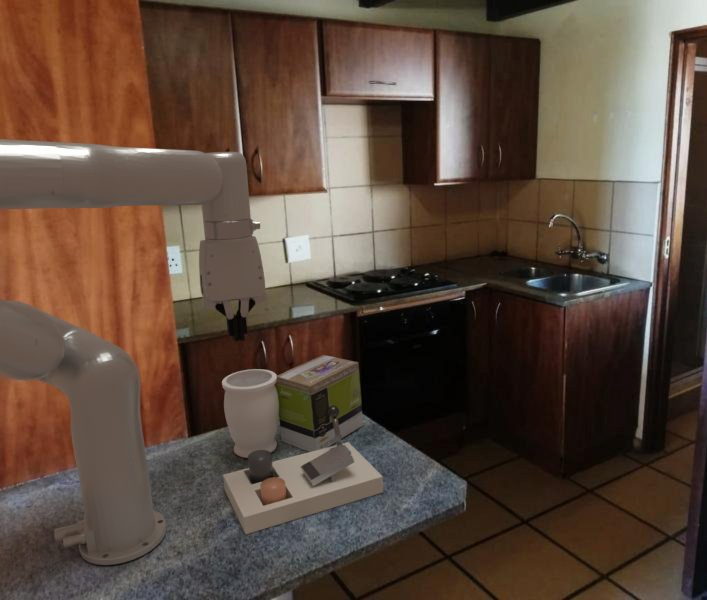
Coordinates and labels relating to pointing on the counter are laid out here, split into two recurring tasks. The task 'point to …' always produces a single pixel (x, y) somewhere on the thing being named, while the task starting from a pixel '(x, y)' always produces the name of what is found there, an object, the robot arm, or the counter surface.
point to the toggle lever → (335, 422)
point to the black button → (260, 466)
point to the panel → (300, 490)
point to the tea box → (318, 402)
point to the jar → (251, 410)
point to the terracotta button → (272, 490)
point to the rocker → (327, 464)
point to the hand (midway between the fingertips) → (238, 338)
